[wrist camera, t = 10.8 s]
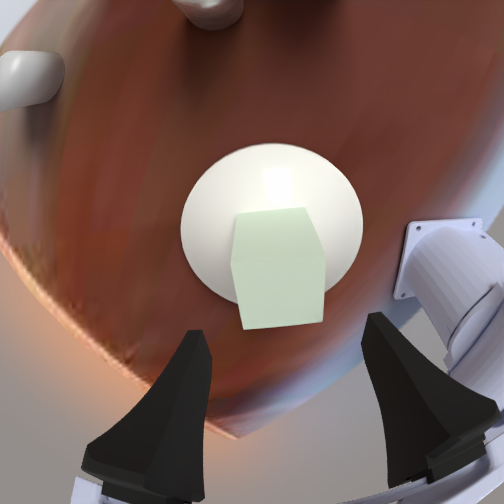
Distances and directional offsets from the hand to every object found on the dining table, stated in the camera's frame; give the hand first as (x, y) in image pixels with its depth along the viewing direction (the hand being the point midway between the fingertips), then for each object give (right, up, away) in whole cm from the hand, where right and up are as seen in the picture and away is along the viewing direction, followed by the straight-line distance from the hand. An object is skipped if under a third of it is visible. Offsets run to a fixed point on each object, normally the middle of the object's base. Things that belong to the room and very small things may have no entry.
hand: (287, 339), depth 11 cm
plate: (0, +5, +9) cm, 10 cm away
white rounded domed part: (-18, +17, +1) cm, 25 cm away
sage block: (0, +5, +8) cm, 9 cm away
